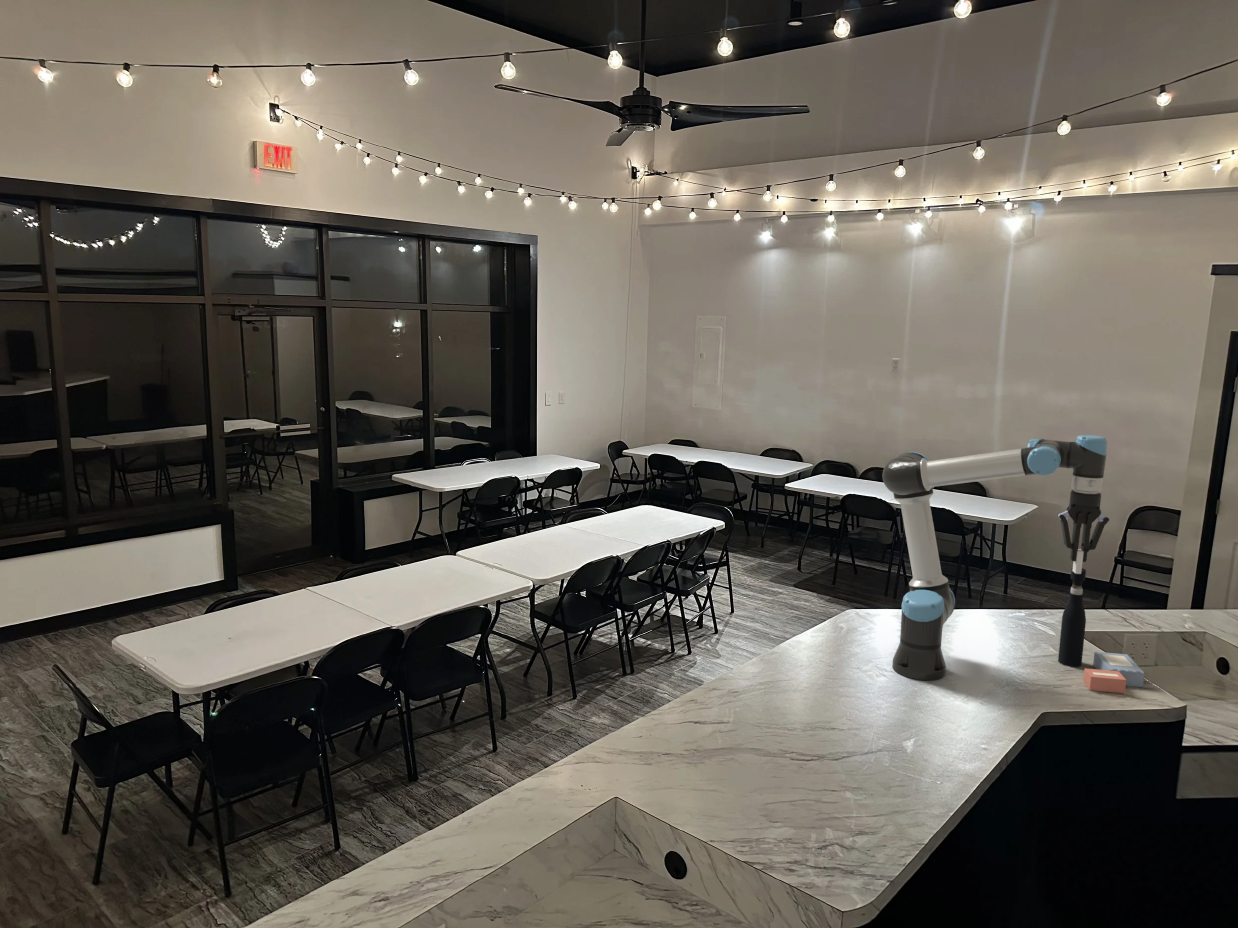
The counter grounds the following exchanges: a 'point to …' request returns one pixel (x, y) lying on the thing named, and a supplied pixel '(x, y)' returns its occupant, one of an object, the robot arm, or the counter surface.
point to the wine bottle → (1073, 624)
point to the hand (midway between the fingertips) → (1076, 572)
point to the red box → (1104, 680)
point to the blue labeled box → (1120, 667)
